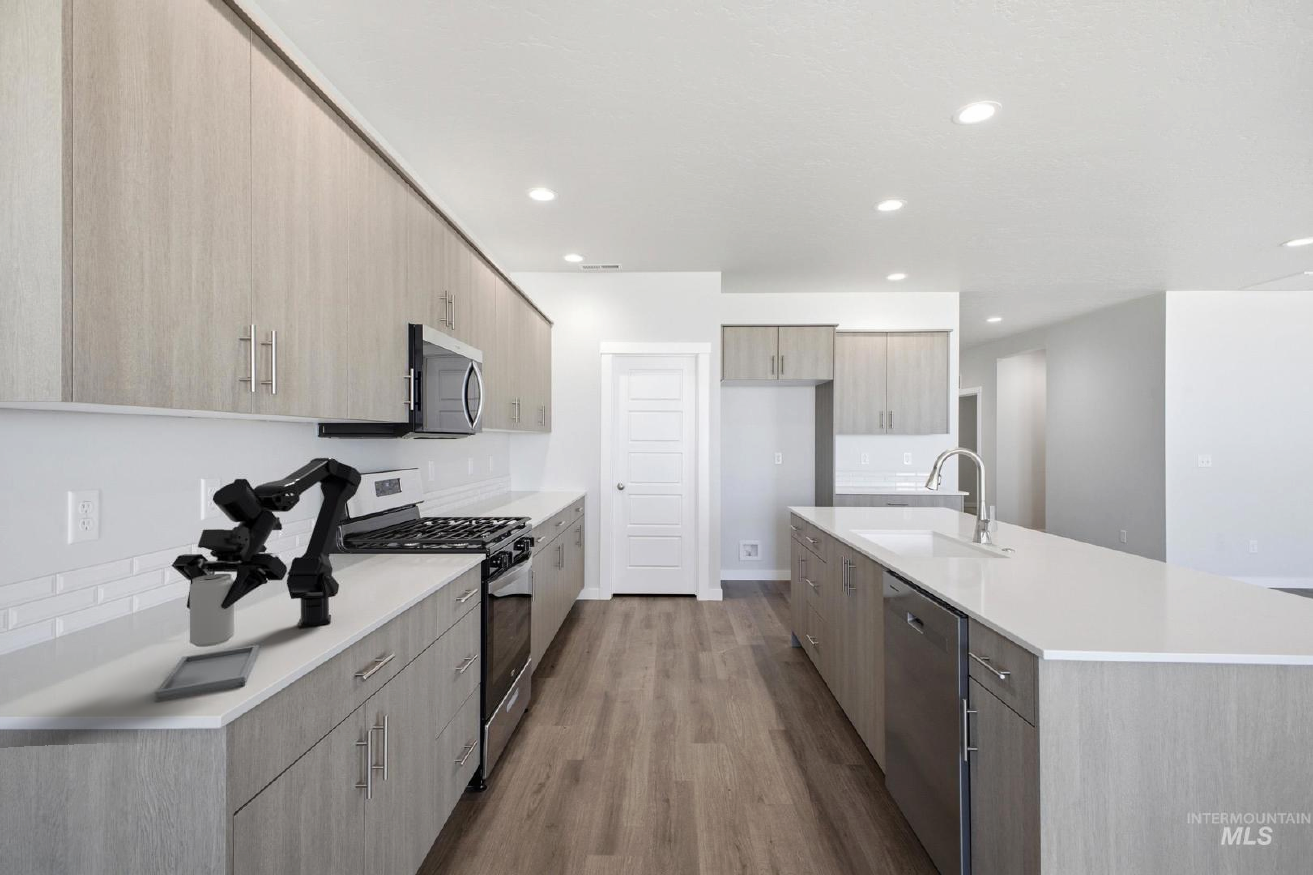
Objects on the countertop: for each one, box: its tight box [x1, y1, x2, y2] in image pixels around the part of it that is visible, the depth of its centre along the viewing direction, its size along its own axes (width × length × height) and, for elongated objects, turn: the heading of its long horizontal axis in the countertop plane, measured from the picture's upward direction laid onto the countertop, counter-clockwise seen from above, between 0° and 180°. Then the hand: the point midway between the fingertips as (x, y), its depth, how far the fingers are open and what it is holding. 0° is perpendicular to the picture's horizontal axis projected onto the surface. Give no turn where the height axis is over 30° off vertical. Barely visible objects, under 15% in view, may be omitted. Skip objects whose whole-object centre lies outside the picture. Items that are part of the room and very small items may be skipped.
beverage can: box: [189, 573, 235, 648], centre depth 103 cm, size 6×6×12 cm
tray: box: [154, 644, 260, 703], centre depth 103 cm, size 18×12×2 cm, turn 29°
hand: (206, 608), depth 102 cm, fingers closed on beverage can, 6 cm apart
